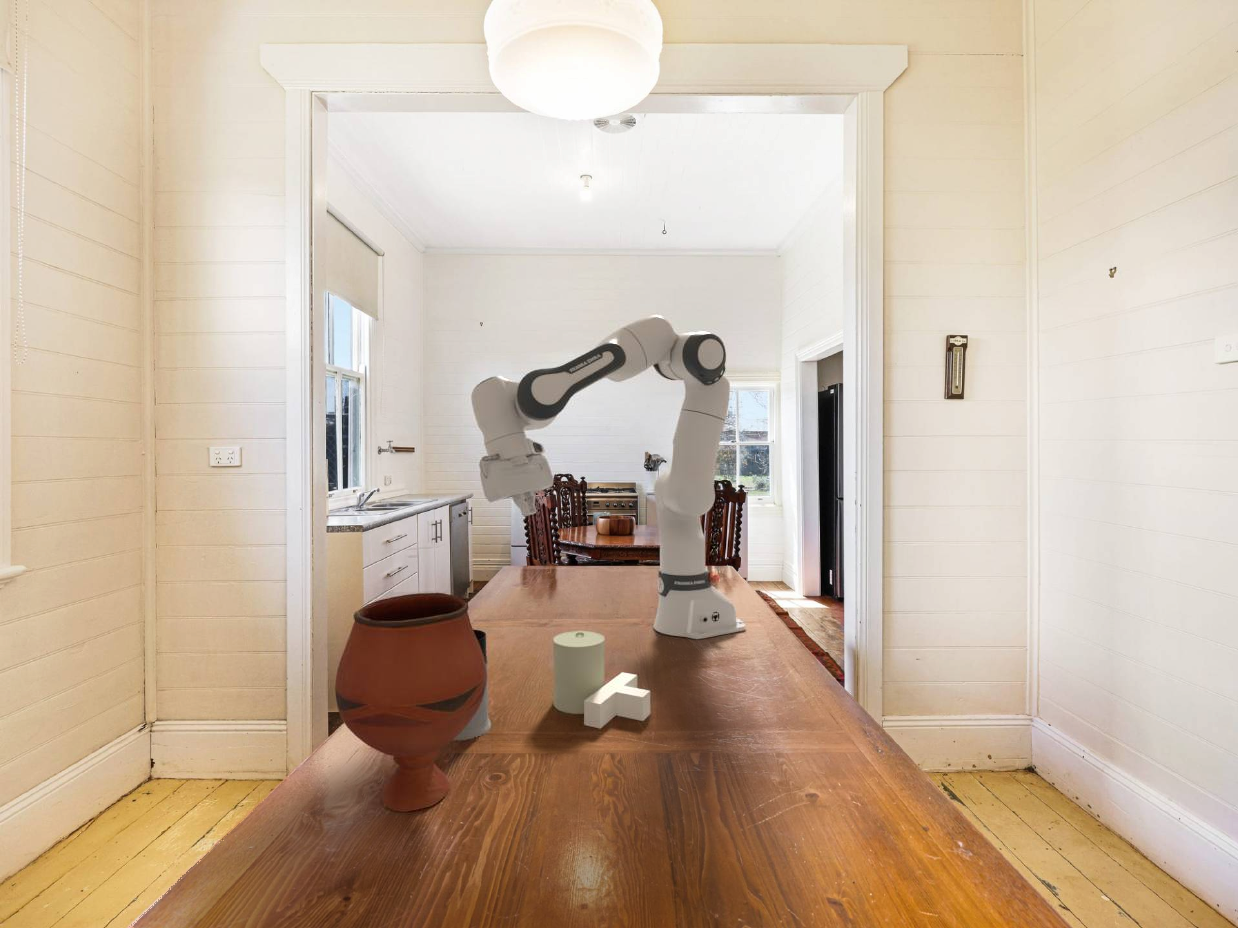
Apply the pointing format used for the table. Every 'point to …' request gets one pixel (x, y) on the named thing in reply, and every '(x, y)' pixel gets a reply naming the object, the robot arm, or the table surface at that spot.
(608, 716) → the T stop
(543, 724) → the table surface
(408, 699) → the goblet
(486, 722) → the glass holder
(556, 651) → the can
